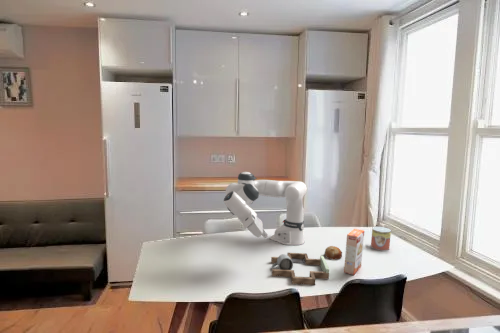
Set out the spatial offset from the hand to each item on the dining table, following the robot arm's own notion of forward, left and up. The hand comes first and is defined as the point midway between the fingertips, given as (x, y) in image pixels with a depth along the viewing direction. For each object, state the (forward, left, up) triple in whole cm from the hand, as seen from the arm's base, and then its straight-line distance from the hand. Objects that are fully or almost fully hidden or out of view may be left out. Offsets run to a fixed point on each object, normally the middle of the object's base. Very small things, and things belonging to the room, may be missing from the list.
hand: (266, 236), depth 186 cm
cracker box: (+37, +29, -18) cm, 51 cm away
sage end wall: (+26, +17, -17) cm, 36 cm away
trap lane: (+15, +10, -17) cm, 25 cm away
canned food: (+39, +75, -18) cm, 87 cm away
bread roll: (+22, +41, -18) cm, 49 cm away
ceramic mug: (+7, +5, -18) cm, 20 cm away
